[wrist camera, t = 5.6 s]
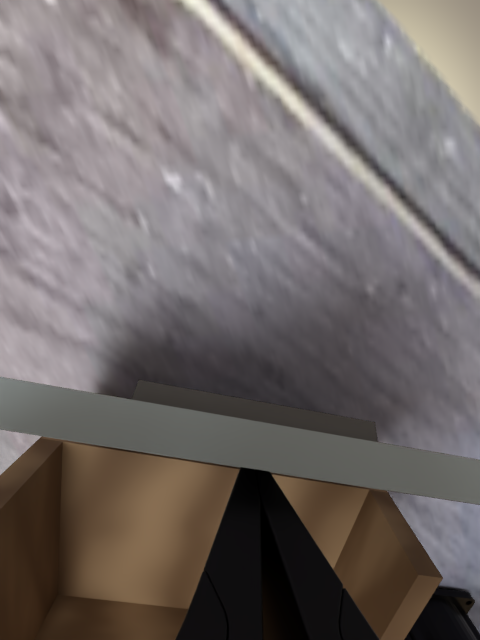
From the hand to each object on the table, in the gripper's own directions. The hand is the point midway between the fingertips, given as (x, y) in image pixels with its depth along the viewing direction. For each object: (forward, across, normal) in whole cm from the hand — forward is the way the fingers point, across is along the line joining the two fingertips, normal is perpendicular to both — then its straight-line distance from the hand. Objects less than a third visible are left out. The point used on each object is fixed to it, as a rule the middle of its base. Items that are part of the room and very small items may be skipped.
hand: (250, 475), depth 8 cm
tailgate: (+5, 0, +4) cm, 6 cm away
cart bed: (+7, 0, +12) cm, 14 cm away
